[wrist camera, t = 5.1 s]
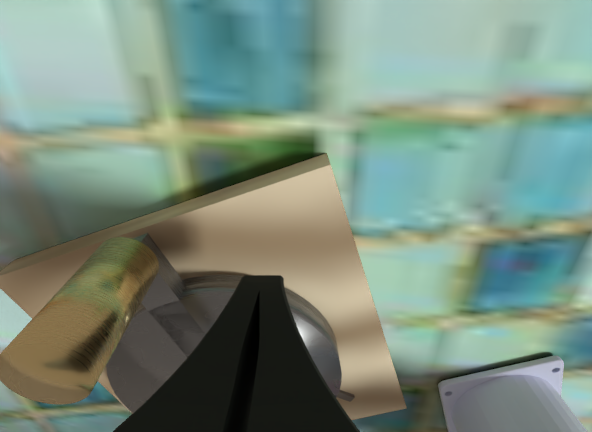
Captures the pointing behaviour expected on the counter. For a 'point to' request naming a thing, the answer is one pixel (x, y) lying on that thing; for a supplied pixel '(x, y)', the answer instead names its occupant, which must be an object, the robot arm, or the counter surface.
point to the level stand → (254, 264)
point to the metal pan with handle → (134, 328)
